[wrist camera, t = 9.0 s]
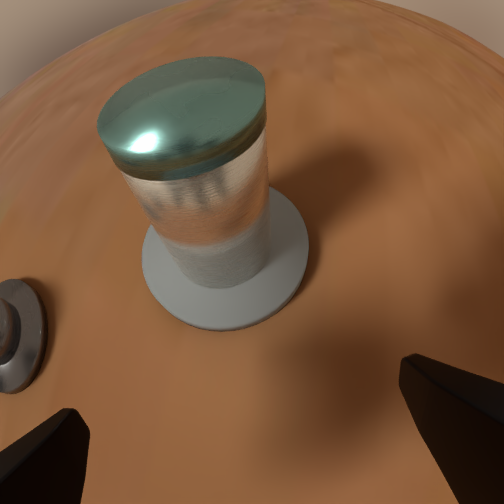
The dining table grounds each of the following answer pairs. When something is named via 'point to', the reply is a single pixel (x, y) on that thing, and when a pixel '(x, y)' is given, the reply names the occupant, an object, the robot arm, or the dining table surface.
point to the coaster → (239, 297)
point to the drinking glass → (197, 163)
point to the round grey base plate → (20, 335)
